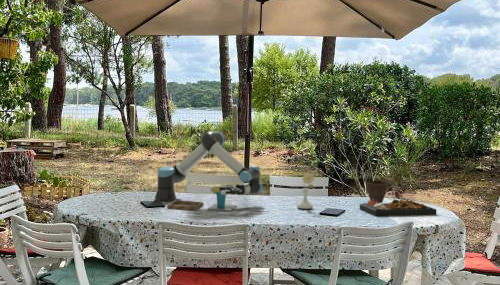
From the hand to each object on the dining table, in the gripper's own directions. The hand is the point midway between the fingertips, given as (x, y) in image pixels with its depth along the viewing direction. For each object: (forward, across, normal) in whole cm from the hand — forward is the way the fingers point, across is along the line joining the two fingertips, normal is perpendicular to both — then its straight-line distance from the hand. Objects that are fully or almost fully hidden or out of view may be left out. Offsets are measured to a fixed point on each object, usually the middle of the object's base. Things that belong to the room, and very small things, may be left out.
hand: (215, 191), depth 421 cm
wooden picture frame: (+15, +14, -12) cm, 24 cm away
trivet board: (-5, -1, -12) cm, 13 cm away
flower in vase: (-56, -27, -12) cm, 64 cm away
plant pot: (-116, -35, -12) cm, 122 cm away
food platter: (-106, -65, -13) cm, 125 cm away
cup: (-5, -1, -11) cm, 12 cm away
